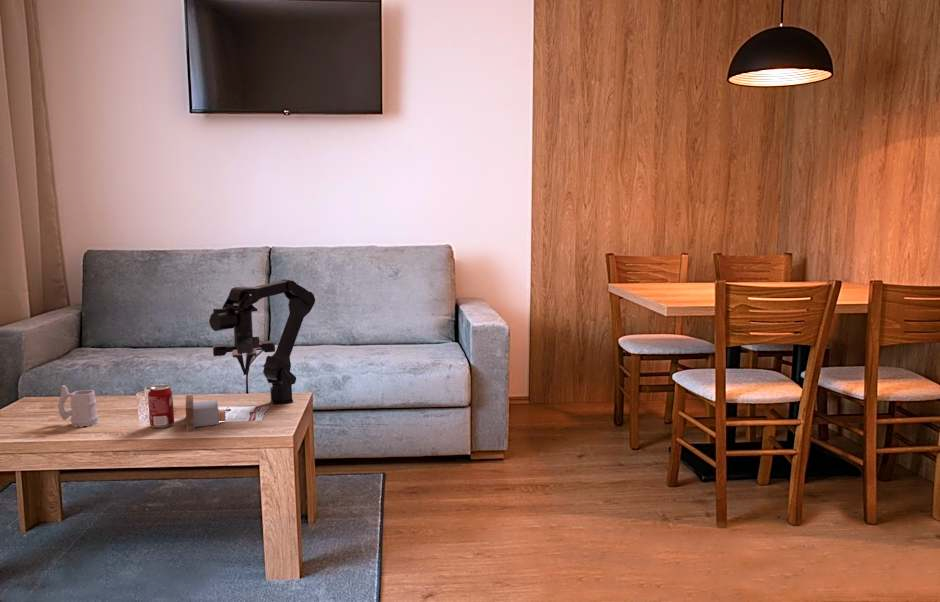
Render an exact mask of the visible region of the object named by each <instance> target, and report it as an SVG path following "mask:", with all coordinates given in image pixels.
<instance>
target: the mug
mask: <svg viewBox="0 0 940 602" xmlns="http://www.w3.org/2000/svg"><path fill="white" fill-rule="evenodd" d="M68 398H70V403H69V405H70V408H71V410H68V409H67V408H66V401H67V399H68ZM57 407H58V414H59V416H60V417H61V418H62V420H63V421H67V419H69V417H70V416H71V417H70V423H71V425H73V426H74V428H84V427H83V426H87V427H90V426H89V425H92V426H94V425H93V424H95V423H97V422H98V423H99V417H100V415H99V414H98V411H97V399H96V394H95V390H92V389H84V390H76V391H73V392H69V388H68V387H67V386H66V385H64V384H63V385H61V392H60V396H59V401H58V404H57ZM98 423H97V424H98ZM95 425H96V424H95ZM73 426H72V427H73ZM78 426H79V427H78Z"/></svg>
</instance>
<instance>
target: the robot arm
mask: <svg viewBox="0 0 940 602" xmlns="http://www.w3.org/2000/svg"><path fill="white" fill-rule="evenodd" d="M281 294H283V295H284V297H285V298H287V300H288V311H289V315H288V317H287V320H286V322H285V325H284V328H283V331H282V334H281V335H280V339H279V342H278V345H277V348H276V344H275V342H274V341H272V340H263V341H260V336H254V332H253V330H254V329H253V312H254V313H255V312H258V308H256V307H255V306H254V304H256V303H258V302H259V301H260V300H262V299H264V298H268V297H272V296H276V295H281ZM315 302H316V297H315V294H314V293H313V292H312V291H309V290H308V289H306V288H304V287H303V286H301V285H299V284H298V283H297V282H295V281H294V279H286V278H284V279H283V278H282V279H281V280H277V281H273V282H270V283H265V284H262V285H261V284H260V285H255V286H235V287H232V288H231V289H230V291H229V294H228V296H227V298H226V300H225V302H224V303H223V306H222V308H213V310H212V312H213V313H211V315H210V316H209V317H210V318H209V320H208V321H209V326H210V328H211V330H212V331H215V332H220V331H224V330H231V329H233V339H234V341H233V343H234V345H232V346H230V345H229V346H227V344H226V343H221V344H217V343H216V344H214V345H213V346H212V354H213V357H222V356H225V355H226V354H227V353H231V355H232V356H231V357H232V358H236V360H237V361H238V363H239V366H240V368H241V371H242V373H243V376H247V375H248V371H249V368H250V363H251V362H252V360H253V357H256V356H257V355H258V354H257V351H263V352H264V353H273V354H272V355H267V356H266V358H265V361H264V365H263V366H262V367H263V371H262V374H264V378H266V381H267V383H268V384H271V387H270V389H269V391H270V392H269V394H270V401H271V402H272V404H274V405H276V404H287V403H293V402H294V399H293V385H295V384H296V382H297V376H295V374H294V373H292V372H291V367H292V363H291V354H292V352H293V349H294V346H295V345H296V344H295V343H296V341H297V338H298V335H299V332H300V330H301V326H302V324H303V320H304V318H305V317H306V316H307V315H308V314H309V313H311V311H312V309H313V307H314V306H315V304H316V303H315ZM243 354H245V361H244V358H243V357H244V356H243ZM244 362H245V363H244Z"/></svg>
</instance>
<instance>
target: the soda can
mask: <svg viewBox="0 0 940 602" xmlns="http://www.w3.org/2000/svg"><path fill="white" fill-rule="evenodd" d="M170 387H171V386H170V385H169V384H157V385H153V386H151V387H149V391H148V393H147V400H148V413H149V415H148V416H149V426H151V427H152V428H154V429H165V428H169V427H170V426H172V425H173V424H175V412H174V400H173V398H174V397H173V394H174V393H173V391H172V388H170Z"/></svg>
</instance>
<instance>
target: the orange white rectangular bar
mask: <svg viewBox="0 0 940 602" xmlns="http://www.w3.org/2000/svg"><path fill="white" fill-rule="evenodd" d="M218 417H219V421H226V410H225V409H222V410H218Z"/></svg>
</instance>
